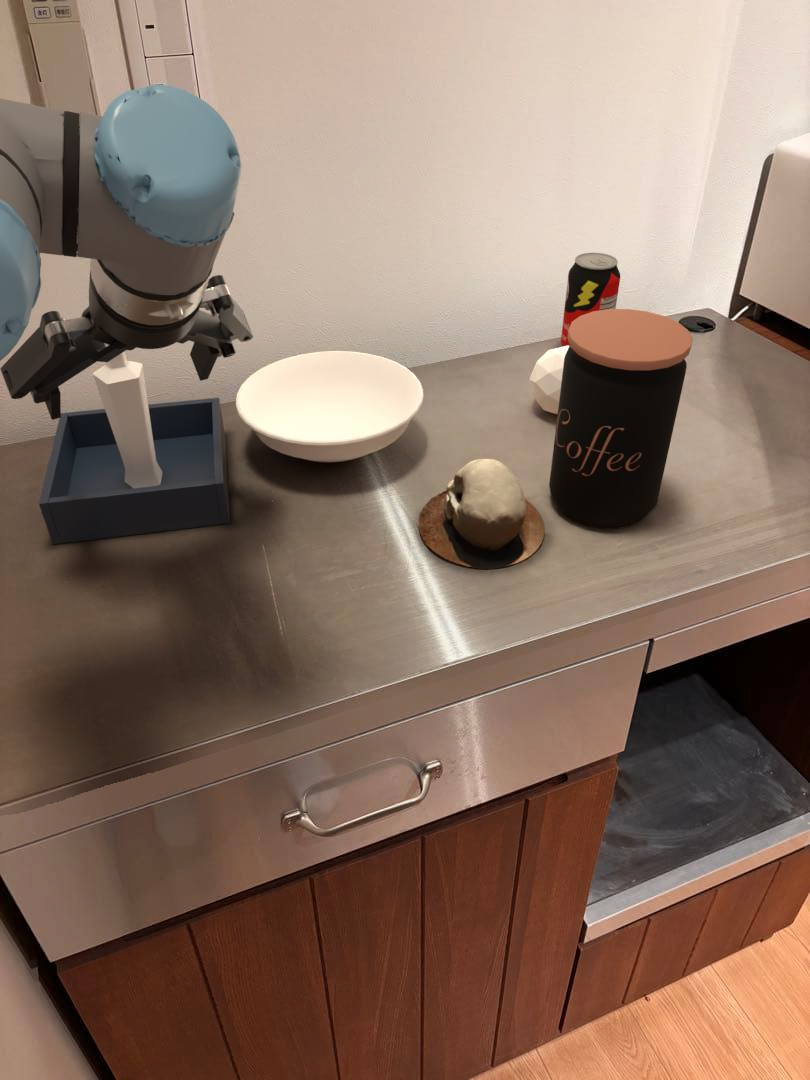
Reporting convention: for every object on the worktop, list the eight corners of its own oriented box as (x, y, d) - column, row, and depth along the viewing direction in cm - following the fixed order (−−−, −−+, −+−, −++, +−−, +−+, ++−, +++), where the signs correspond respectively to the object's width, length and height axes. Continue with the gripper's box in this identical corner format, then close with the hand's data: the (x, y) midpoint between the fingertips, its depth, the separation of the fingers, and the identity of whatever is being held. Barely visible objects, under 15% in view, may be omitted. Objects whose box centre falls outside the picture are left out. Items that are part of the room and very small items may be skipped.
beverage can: (587, 336, 115) (599, 247, 107) (618, 354, 111) (633, 263, 103) (550, 346, 112) (559, 256, 105) (580, 365, 108) (592, 273, 101)
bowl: (223, 420, 98) (215, 370, 94) (383, 386, 104) (381, 337, 100) (272, 515, 84) (264, 460, 80) (453, 469, 90) (455, 417, 86)
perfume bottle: (176, 479, 88) (148, 344, 78) (138, 496, 85) (104, 359, 76) (153, 461, 90) (123, 328, 81) (116, 477, 88) (80, 343, 79)
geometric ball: (540, 428, 102) (509, 369, 100) (597, 394, 102) (567, 335, 100) (562, 430, 94) (528, 366, 93) (623, 393, 95) (590, 329, 93)
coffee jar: (526, 500, 86) (542, 332, 74) (590, 459, 91) (615, 298, 80) (614, 548, 80) (647, 374, 68) (677, 501, 85) (717, 333, 74)
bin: (52, 544, 81) (38, 503, 78) (71, 451, 93) (60, 413, 90) (230, 523, 83) (223, 482, 80) (225, 435, 96) (219, 397, 93)
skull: (394, 494, 85) (463, 417, 81) (466, 538, 90) (533, 468, 87) (426, 566, 75) (505, 483, 72) (504, 611, 81) (580, 535, 78)
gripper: (-26, 374, 53) (-2, 463, 72) (332, 290, 63) (268, 388, 82) (-69, 262, 53) (-34, 381, 72) (295, 197, 63) (240, 316, 83)
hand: (127, 385), depth 77 cm, fingers open, 13 cm apart
